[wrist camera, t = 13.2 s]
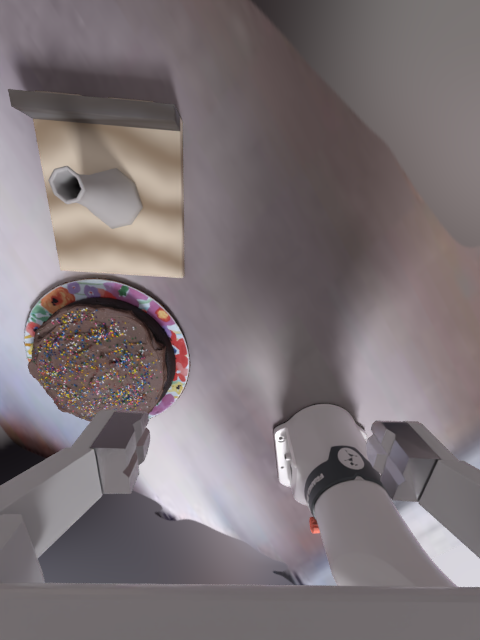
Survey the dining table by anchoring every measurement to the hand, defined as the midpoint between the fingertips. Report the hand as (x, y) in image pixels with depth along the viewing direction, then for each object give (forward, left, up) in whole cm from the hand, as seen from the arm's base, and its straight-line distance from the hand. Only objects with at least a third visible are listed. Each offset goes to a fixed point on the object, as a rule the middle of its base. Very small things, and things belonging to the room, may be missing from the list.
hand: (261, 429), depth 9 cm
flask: (+10, +18, -30) cm, 36 cm away
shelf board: (+10, +18, -31) cm, 37 cm away
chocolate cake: (-15, +22, -32) cm, 41 cm away
